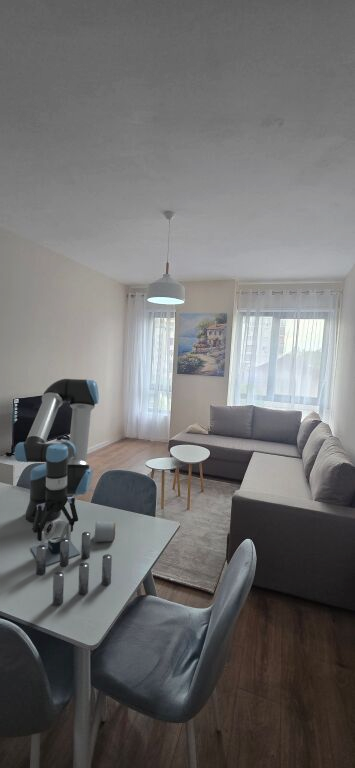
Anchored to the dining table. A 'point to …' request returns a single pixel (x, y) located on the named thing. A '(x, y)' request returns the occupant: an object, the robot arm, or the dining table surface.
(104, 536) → the ceramic mug
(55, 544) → the watch
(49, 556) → the mat
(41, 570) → the post field
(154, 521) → the dining table surface
